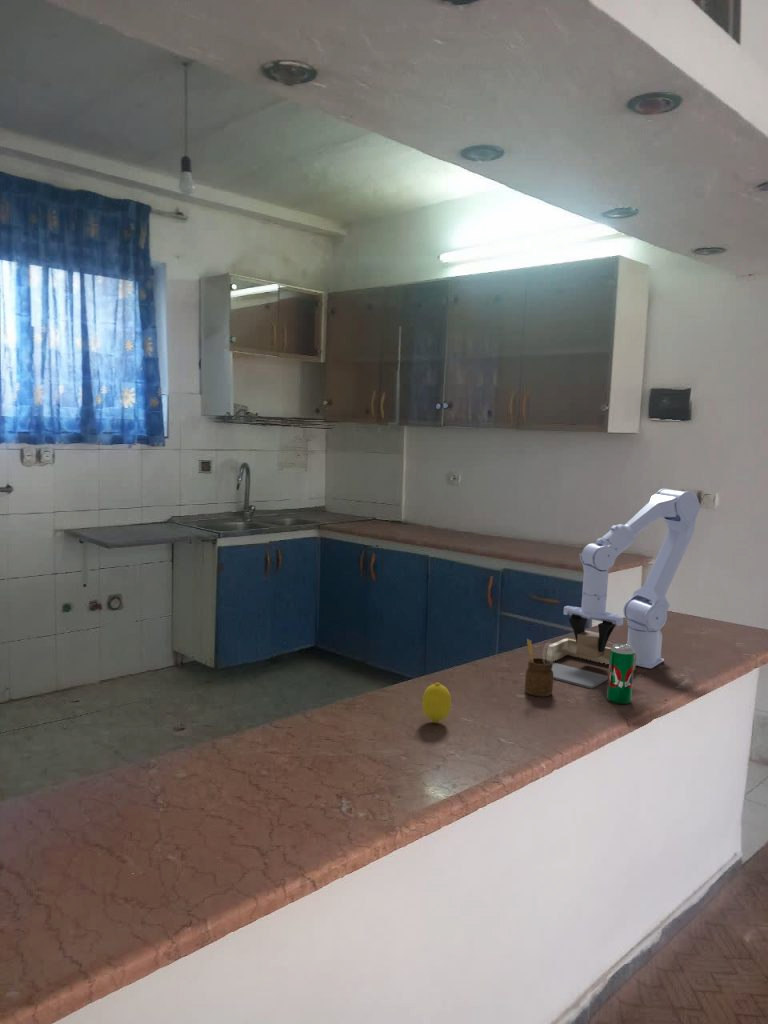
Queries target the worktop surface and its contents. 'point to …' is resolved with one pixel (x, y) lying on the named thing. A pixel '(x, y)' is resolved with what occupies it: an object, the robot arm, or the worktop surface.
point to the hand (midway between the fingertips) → (590, 648)
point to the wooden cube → (588, 644)
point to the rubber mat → (577, 676)
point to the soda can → (620, 673)
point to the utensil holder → (539, 675)
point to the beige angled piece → (569, 648)
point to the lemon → (436, 702)
